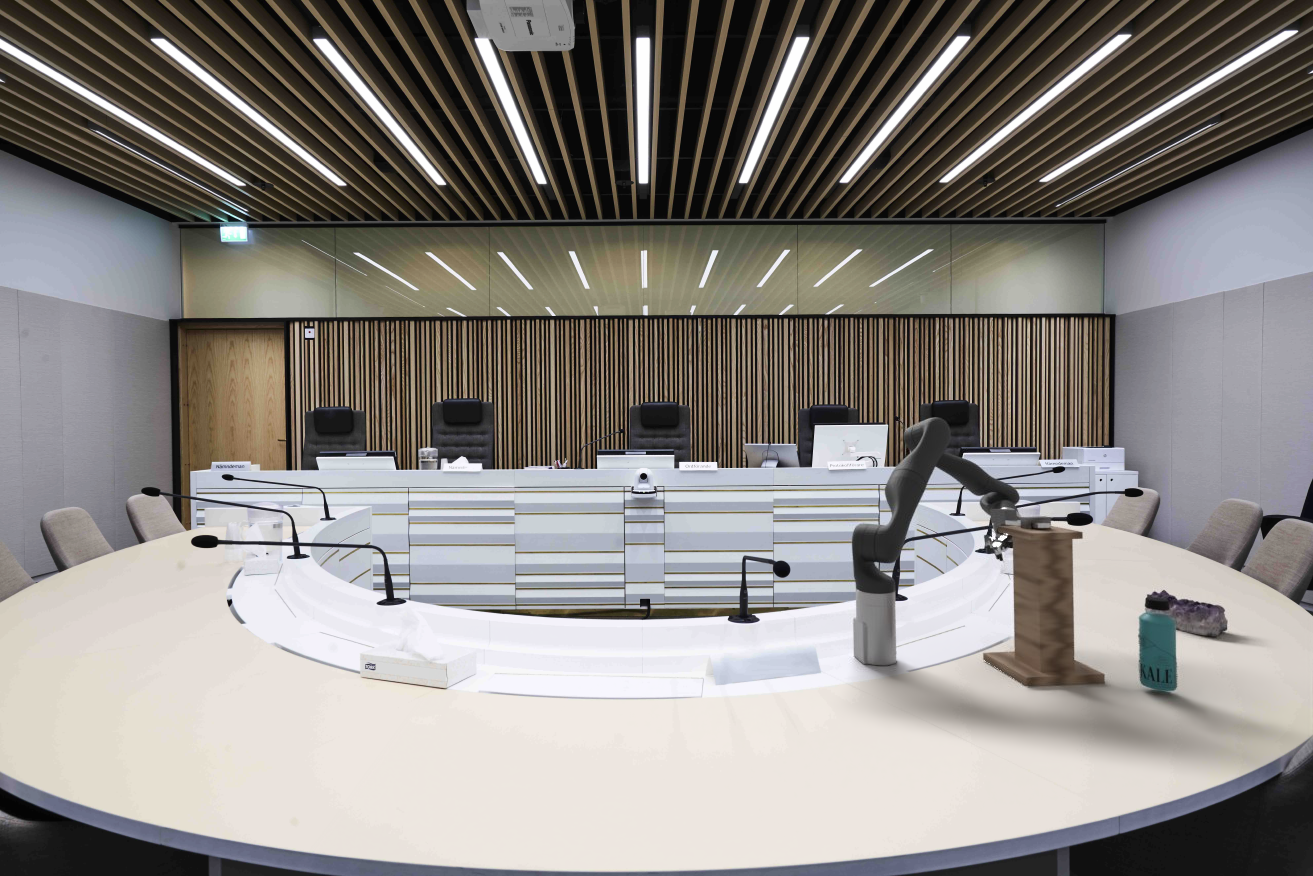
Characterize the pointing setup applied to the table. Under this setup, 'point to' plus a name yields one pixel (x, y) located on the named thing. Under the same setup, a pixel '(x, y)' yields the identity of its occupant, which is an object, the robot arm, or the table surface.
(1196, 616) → the geode
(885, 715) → the table surface
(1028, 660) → the walnut pedestal
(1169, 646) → the beverage bottle
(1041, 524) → the steel bar
